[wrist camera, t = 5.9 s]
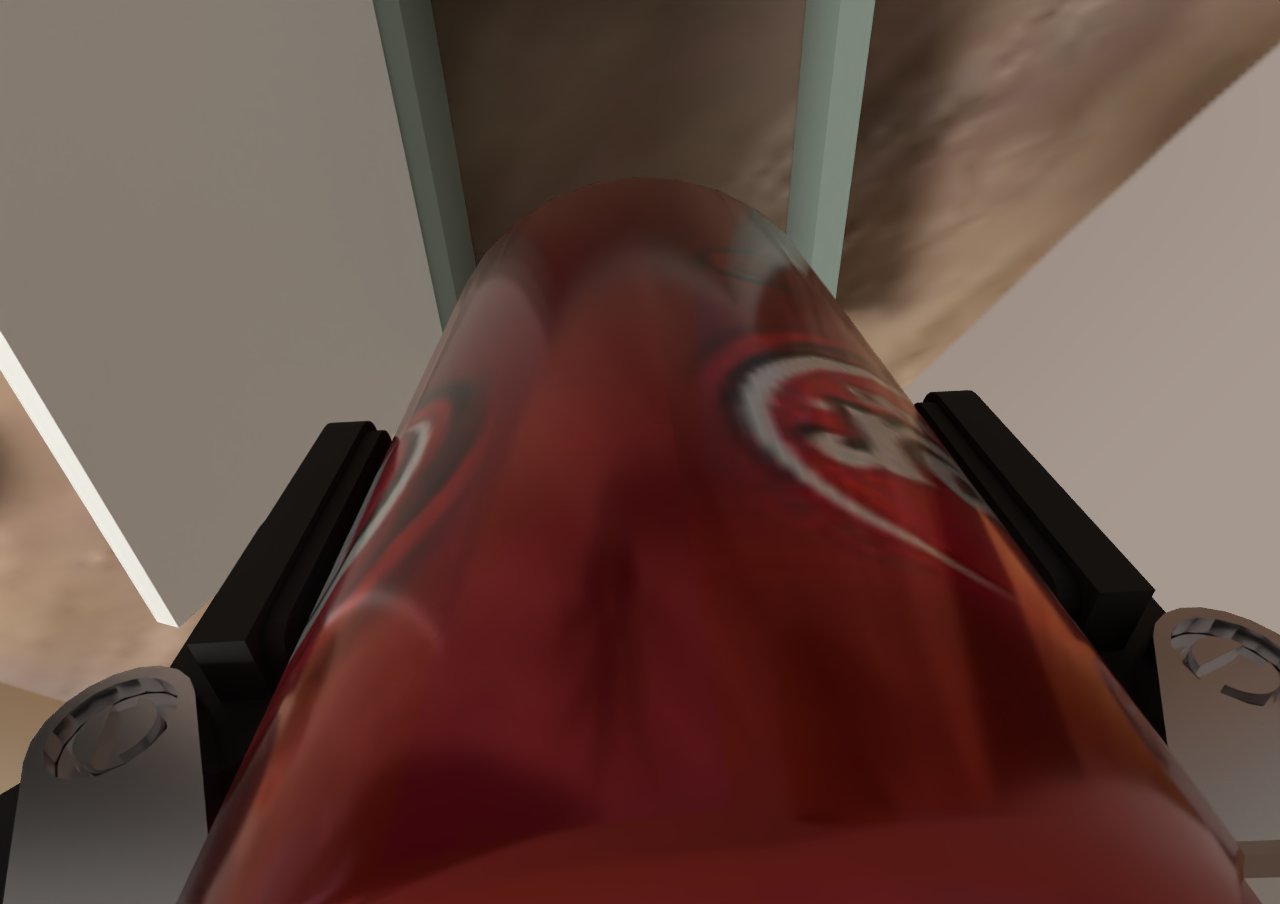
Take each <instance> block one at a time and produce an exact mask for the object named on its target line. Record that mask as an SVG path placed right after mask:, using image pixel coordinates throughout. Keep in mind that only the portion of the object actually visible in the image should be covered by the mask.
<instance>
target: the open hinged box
mask: <svg viewBox="0 0 1280 904" xmlns="http://www.w3.org/2000/svg"><path fill="white" fill-rule="evenodd" d="M874 6H875V0H806V7H805V19H804V30H803V42H802V54H801V65H800V77H799V89H798V100H797V112H796V124H795V135H794V147H793V158H792V170H791V182H790V193H789V205H788V217H787V228H786V235H787V236H788V237H789V238H790V240H791V241H792V242H793V244H794V245H795V246H796V247H797V249H798V250H799V251H800V253H801V254H802V255H803V256H804V258H805V259H806V260H807V262H808V263H809V264H810V265H811V267H812V268H813V269H814V271H815V272H816V274H817V275H818V276H819V278H820V279H821V280H822V282H823V283H824V284H825V286H826V287H827V288H828V290H829V291H830V292H831V294H832V295H833V296H834V298H835V299H836V292H837V284H838V277H839V269H840V262H841V254H842V247H843V239H844V232H845V224H846V217H847V209H848V202H849V194H850V187H851V179H852V172H853V164H854V157H855V149H856V142H857V134H858V127H859V119H860V112H861V104H862V97H863V89H864V82H865V74H866V67H867V59H868V52H869V44H870V37H871V29H872V22H873V14H874ZM475 269H476V262H475V257H474V251H473V245H472V239H471V233H470V227H469V221H468V216H467V210H466V204H465V198H464V192H463V186H462V181H461V175H460V169H459V163H458V157H457V151H456V145H455V140H454V134H453V128H452V122H451V116H450V110H449V105H448V99H447V93H446V87H445V81H444V75H443V69H442V64H441V58H440V52H439V46H438V40H437V34H436V29H435V23H434V17H433V11H432V5H431V0H0V370H1V372H2V373H3V375H4V376H5V378H6V380H7V381H8V383H9V384H10V386H11V388H12V389H13V391H14V392H15V394H16V396H17V397H18V399H19V400H20V402H21V404H22V405H23V407H24V409H25V410H26V412H27V413H28V415H29V417H30V418H31V420H32V421H33V423H34V425H35V426H36V428H37V429H38V431H39V433H40V434H41V436H42V437H43V439H44V441H45V442H46V444H47V445H48V447H49V449H50V450H51V452H52V453H53V455H54V457H55V458H56V460H57V461H58V463H59V465H60V466H61V468H62V470H63V471H64V473H65V474H66V476H67V478H68V479H69V481H70V482H71V484H72V486H73V487H74V489H75V490H76V492H77V494H78V495H79V497H80V498H81V500H82V502H83V503H84V505H85V506H86V508H87V510H88V511H89V513H90V514H91V516H92V518H93V519H94V521H95V522H96V524H97V526H98V527H99V529H100V531H101V532H102V534H103V535H104V537H105V539H106V540H107V542H108V543H109V545H110V547H111V548H112V550H113V551H114V553H115V555H116V556H117V558H118V559H119V561H120V563H121V564H122V566H123V567H124V569H125V571H126V572H127V574H128V575H129V577H130V579H131V580H132V582H133V583H134V585H135V587H136V588H137V590H138V592H139V593H140V595H141V596H142V598H143V600H144V601H145V603H146V604H147V606H148V608H149V609H150V611H151V612H152V614H153V616H154V617H155V619H156V620H157V622H160V623H164V624H167V625H171V626H174V627H178V628H179V627H180V626H181V625H182V624H184V623H185V622H186V621H187V620H188V619H189V618H190V617H191V616H192V615H194V614H195V613H196V612H197V611H198V610H199V609H200V608H201V607H202V606H203V605H205V604H206V603H207V602H208V601H209V600H210V599H211V598H212V597H213V596H215V595H216V594H217V593H218V591H219V589H220V588H221V586H222V585H223V583H224V582H225V580H226V578H227V577H228V575H229V574H230V572H231V571H232V569H233V567H234V566H235V564H236V563H237V561H238V560H239V558H240V557H241V555H242V553H243V552H244V550H245V549H246V547H247V546H248V544H249V542H250V541H251V539H252V538H253V536H254V535H255V533H256V531H257V530H258V528H259V527H260V526H261V525H262V523H263V522H264V521H265V520H266V518H267V517H268V515H269V514H270V512H271V510H272V509H273V507H274V506H275V504H276V503H277V501H278V499H279V498H280V496H281V495H282V493H283V492H284V490H285V488H286V487H287V485H288V484H289V482H290V481H291V479H292V477H293V476H294V474H295V473H296V471H297V469H298V468H299V466H300V465H301V463H302V462H303V460H304V458H305V457H306V455H307V454H308V452H309V451H310V449H311V447H312V446H313V444H314V443H315V441H316V440H317V438H318V436H319V435H320V433H321V432H322V430H323V429H324V427H325V426H326V425H327V424H328V423H335V422H355V421H371V422H372V423H373V424H374V425H375V427H376V429H377V430H386V431H387V432H388V433H389V435H390V436H391V435H393V434H394V433H395V432H396V431H397V430H398V428H399V425H400V423H401V421H402V419H403V417H404V415H405V413H406V411H407V408H408V406H409V404H410V402H411V400H412V398H413V396H414V393H415V391H416V389H417V387H418V385H419V383H420V381H421V378H422V376H423V374H424V372H425V370H426V368H427V366H428V363H429V361H430V359H431V357H432V355H433V353H434V351H435V349H436V346H437V344H438V342H439V340H440V338H441V336H442V334H443V331H444V329H445V327H446V325H447V323H448V321H449V319H450V316H451V314H452V312H453V310H454V308H455V306H456V304H457V301H458V299H459V297H460V295H461V293H462V291H463V289H464V287H465V284H466V283H467V281H468V280H469V278H470V277H471V275H472V273H473V272H474V270H475Z"/></svg>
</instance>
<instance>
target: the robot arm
mask: <svg viewBox="0 0 1280 904" xmlns="http://www.w3.org/2000/svg"><path fill="white" fill-rule="evenodd" d="M914 406H915V407H916V408H917V410H918V411H919V412H920V414H921V415H922V416H923V418H924V419H925V420H926V422H927V423H928V424H929V426H930V427H931V429H932V430H933V431H934V433H935V434H936V435H937V437H938V438H939V439H940V441H941V442H942V443H943V445H944V446H945V447H946V449H947V450H948V451H949V453H950V454H951V455H952V457H953V458H954V459H955V461H956V462H957V464H958V465H959V466H960V468H961V469H962V470H963V472H964V473H965V474H966V476H967V477H968V478H969V480H970V481H971V482H972V484H973V485H974V486H975V488H976V489H977V490H978V492H979V493H980V495H981V496H982V497H983V499H984V500H985V501H986V503H987V504H988V505H989V507H990V508H991V509H992V511H993V512H994V513H995V515H996V516H997V517H998V519H999V520H1000V521H1001V523H1002V524H1003V526H1004V527H1005V528H1006V530H1007V531H1008V532H1009V534H1010V535H1011V536H1012V538H1013V539H1014V540H1015V542H1016V543H1017V544H1018V546H1019V547H1020V548H1021V550H1022V551H1023V552H1024V554H1025V555H1026V557H1027V558H1028V559H1029V561H1030V562H1031V563H1032V565H1033V566H1034V567H1035V569H1036V570H1037V571H1038V573H1039V574H1040V575H1041V577H1042V578H1043V579H1044V581H1045V582H1046V583H1047V585H1048V586H1049V588H1050V589H1051V590H1052V592H1053V593H1054V594H1055V596H1056V597H1057V598H1058V600H1059V601H1060V602H1061V604H1062V605H1063V606H1064V608H1065V609H1066V610H1067V612H1068V613H1069V614H1070V616H1071V617H1072V619H1073V620H1074V621H1075V623H1076V624H1077V625H1078V627H1079V628H1080V629H1081V631H1082V632H1083V633H1084V635H1085V636H1086V637H1087V639H1088V640H1089V641H1090V643H1091V644H1092V645H1093V647H1094V648H1095V649H1096V651H1097V652H1098V654H1099V655H1100V656H1101V658H1102V659H1103V660H1104V662H1105V663H1106V664H1107V666H1108V667H1109V668H1110V670H1111V671H1112V672H1113V674H1114V675H1115V676H1116V678H1117V679H1118V680H1119V682H1120V683H1121V685H1122V686H1123V687H1124V689H1125V690H1126V691H1127V693H1128V694H1129V695H1130V697H1131V698H1132V699H1133V701H1134V702H1135V703H1136V705H1137V706H1138V707H1139V709H1140V710H1141V711H1142V713H1143V714H1144V716H1145V717H1146V718H1147V720H1148V721H1149V722H1150V724H1151V725H1152V726H1153V728H1154V729H1155V730H1156V732H1157V733H1158V734H1159V736H1160V737H1161V738H1162V740H1163V741H1164V742H1165V744H1166V745H1167V747H1168V748H1169V749H1170V751H1171V752H1172V753H1173V755H1174V756H1175V757H1176V759H1177V760H1178V761H1179V763H1180V764H1181V765H1182V767H1183V768H1184V769H1185V771H1186V772H1187V773H1188V775H1189V776H1190V778H1191V779H1192V780H1193V782H1194V783H1195V784H1196V786H1197V787H1198V788H1199V790H1200V791H1201V792H1202V794H1203V795H1204V796H1205V798H1206V799H1207V800H1208V802H1209V803H1210V804H1211V806H1212V807H1213V809H1214V810H1215V811H1216V813H1217V814H1218V815H1219V817H1220V818H1221V819H1222V821H1223V822H1224V823H1225V825H1226V826H1227V827H1228V829H1229V830H1230V831H1231V833H1232V834H1233V835H1234V837H1235V838H1236V839H1237V844H1238V846H1239V847H1240V849H1241V850H1242V852H1243V854H1244V855H1245V858H1244V868H1243V872H1244V879H1245V881H1246V882H1247V883H1248V885H1249V886H1250V888H1251V889H1252V890H1253V892H1254V893H1255V895H1256V896H1257V897H1258V899H1259V900H1260V901H1261V903H1262V904H1280V635H1279V634H1277V633H1275V632H1273V631H1271V630H1269V629H1267V628H1265V627H1263V626H1261V625H1259V624H1257V623H1255V622H1253V621H1251V620H1248V619H1245V618H1243V617H1240V616H1237V615H1234V614H1231V613H1228V612H1224V611H1218V610H1213V609H1207V608H1201V607H1199V608H1179V609H1176V610H1173V611H1170V612H1167V613H1166V612H1165V611H1164V610H1163V609H1162V608H1161V607H1160V606H1159V605H1158V603H1157V602H1156V601H1155V600H1154V599H1153V598H1152V595H1153V593H1154V592H1155V589H1154V588H1153V587H1152V586H1151V585H1150V583H1148V581H1147V580H1146V579H1145V578H1144V577H1143V576H1142V575H1141V574H1140V573H1139V572H1138V570H1137V569H1136V568H1135V567H1134V566H1133V565H1132V564H1131V563H1130V562H1129V561H1128V559H1127V558H1126V557H1125V556H1124V555H1123V554H1122V553H1121V552H1120V551H1119V550H1118V548H1117V547H1116V546H1115V545H1114V544H1113V543H1112V542H1111V541H1110V540H1109V539H1108V538H1107V537H1106V535H1105V534H1104V533H1103V532H1102V531H1101V530H1100V529H1099V528H1098V527H1097V525H1096V524H1095V523H1094V522H1093V521H1092V520H1091V519H1090V518H1089V517H1088V516H1087V515H1086V514H1085V513H1084V511H1083V510H1082V509H1081V508H1080V507H1079V506H1078V505H1077V504H1076V503H1075V501H1074V500H1073V499H1072V498H1071V497H1070V496H1069V495H1068V494H1067V493H1066V492H1065V490H1064V489H1063V488H1062V487H1061V486H1060V485H1059V484H1058V483H1057V482H1056V481H1055V480H1054V478H1053V477H1052V476H1051V475H1050V474H1049V473H1048V472H1047V471H1046V470H1045V469H1044V467H1043V466H1042V465H1041V464H1040V463H1039V462H1038V461H1037V460H1036V459H1035V458H1034V457H1033V455H1032V454H1031V453H1030V452H1029V451H1028V450H1027V449H1026V448H1025V447H1024V446H1023V445H1022V444H1021V442H1020V441H1019V440H1018V439H1017V438H1016V437H1015V436H1014V435H1013V434H1012V432H1011V431H1010V430H1009V429H1008V428H1007V427H1006V426H1005V425H1004V424H1003V423H1002V422H1001V420H1000V419H999V418H998V417H997V416H996V415H995V414H994V413H993V412H992V411H991V409H989V407H988V406H987V405H986V404H985V403H984V402H983V401H982V400H981V399H980V397H979V396H978V395H977V394H976V393H974V392H973V391H968V390H965V391H948V392H947V391H945V392H930V393H929V394H927V395H926V397H925V399H924V401H923V403H916V404H914ZM391 443H392V441H391V438H390V435H389V433H388V432H387V431H386V430H377V429H376V427H375V425H374V424H373V423H372V422H371V421H355V422H335V423H328V424H327V425H326V426H325V427H324V429H323V430H322V432H321V433H320V435H319V436H318V438H317V440H316V441H315V443H314V444H313V446H312V447H311V449H310V451H309V452H308V454H307V455H306V457H305V458H304V460H303V462H302V463H301V465H300V466H299V468H298V469H297V471H296V473H295V474H294V476H293V477H292V479H291V481H290V482H289V484H288V485H287V487H286V488H285V490H284V492H283V493H282V495H281V496H280V498H279V499H278V501H277V503H276V504H275V506H274V507H273V509H272V510H271V512H270V514H269V515H268V517H267V518H266V520H265V521H264V522H263V523H262V525H261V526H260V527H259V528H258V530H257V531H256V533H255V535H254V536H253V538H252V539H251V541H250V542H249V544H248V546H247V547H246V549H245V550H244V552H243V553H242V555H241V557H240V558H239V560H238V561H237V563H236V564H235V566H234V567H233V569H232V571H231V572H230V574H229V575H228V577H227V578H226V580H225V582H224V583H223V585H222V586H221V588H220V589H219V591H218V593H217V594H216V596H215V597H214V599H213V600H212V602H211V604H210V605H209V607H208V608H207V610H206V611H205V613H204V614H203V616H202V618H201V619H200V621H199V622H198V624H197V625H196V627H195V629H194V630H193V632H192V633H191V635H190V636H189V638H188V640H187V641H186V643H185V644H184V646H183V647H182V649H181V651H180V652H179V654H178V655H177V657H176V658H175V660H174V661H173V663H172V665H171V666H170V668H169V667H164V666H150V667H139V668H135V669H132V670H128V671H125V672H121V673H118V674H115V675H112V676H110V677H108V678H106V679H104V680H102V681H100V682H98V683H96V684H94V685H91V686H89V687H88V688H86V689H85V690H83V691H82V692H80V693H79V694H77V695H76V696H74V697H73V698H72V699H70V700H69V701H67V702H66V703H64V704H63V705H62V706H61V707H60V708H59V709H58V710H57V711H56V712H55V713H54V714H53V715H52V716H51V717H49V718H48V719H47V720H46V721H45V722H44V724H43V725H42V727H41V728H40V729H39V731H38V732H37V733H36V735H35V736H34V738H33V739H32V741H31V742H30V744H29V747H28V750H27V753H26V756H25V758H24V761H23V767H22V773H21V780H20V783H19V784H18V785H16V786H14V787H13V788H11V789H9V790H8V791H6V792H4V793H2V794H1V795H0V904H176V902H177V900H178V898H179V896H180V894H181V891H182V889H183V887H184V885H185V883H186V881H187V879H188V876H189V874H190V872H191V870H192V868H193V866H194V864H195V862H196V859H197V857H198V855H199V853H200V851H201V849H202V847H203V844H204V842H205V840H206V838H207V836H208V834H209V832H210V829H211V827H212V825H213V823H214V821H215V819H216V817H217V814H218V812H219V810H220V808H221V806H222V804H223V802H224V800H225V797H226V795H227V793H228V791H229V789H230V787H231V785H232V782H233V780H234V778H235V776H236V774H237V772H238V770H239V767H240V765H241V763H242V761H243V759H244V757H245V755H246V753H247V750H248V748H249V746H250V744H251V742H252V740H253V738H254V735H255V733H256V731H257V729H258V727H259V725H260V723H261V720H262V718H263V716H264V714H265V712H266V710H267V708H268V705H269V703H270V701H271V699H272V697H273V695H274V693H275V691H276V688H277V686H278V684H279V682H280V680H281V678H282V676H283V673H284V671H285V669H286V667H287V665H288V663H289V661H290V658H291V656H292V654H293V652H294V650H295V648H296V646H297V643H298V641H299V639H300V637H301V635H302V633H303V631H304V629H305V626H306V624H307V622H308V620H309V618H310V616H311V614H312V611H313V609H314V607H315V605H316V603H317V601H318V599H319V596H320V594H321V592H322V590H323V588H324V586H325V584H326V582H327V579H328V577H329V575H330V573H331V571H332V569H333V567H334V564H335V562H336V560H337V558H338V556H339V554H340V552H341V549H342V547H343V545H344V543H345V541H346V539H347V537H348V534H349V532H350V530H351V528H352V526H353V524H354V522H355V520H356V517H357V515H358V513H359V511H360V509H361V507H362V505H363V502H364V500H365V498H366V496H367V494H368V492H369V490H370V487H371V485H372V483H373V481H374V479H375V477H376V475H377V472H378V470H379V468H380V466H381V464H382V462H383V460H384V458H385V455H386V453H387V451H388V449H389V447H390V445H391Z"/></svg>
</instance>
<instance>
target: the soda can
mask: <svg viewBox="0 0 1280 904" xmlns="http://www.w3.org/2000/svg"><path fill="white" fill-rule="evenodd" d="M1244 858H1245V855H1244V854H1243V852H1242V850H1241V849H1240V847H1239V846H1238V844H1237V839H1236V838H1235V837H1234V835H1233V834H1232V833H1231V831H1230V830H1229V829H1228V827H1227V826H1226V825H1225V823H1224V822H1223V821H1222V819H1221V818H1220V817H1219V815H1218V814H1217V813H1216V811H1215V810H1214V809H1213V807H1212V806H1211V804H1210V803H1209V802H1208V800H1207V799H1206V798H1205V796H1204V795H1203V794H1202V792H1201V791H1200V790H1199V788H1198V787H1197V786H1196V784H1195V783H1194V782H1193V780H1192V779H1191V778H1190V776H1189V775H1188V773H1187V772H1186V771H1185V769H1184V768H1183V767H1182V765H1181V764H1180V763H1179V761H1178V760H1177V759H1176V757H1175V756H1174V755H1173V753H1172V752H1171V751H1170V749H1169V748H1168V747H1167V745H1166V744H1165V742H1164V741H1163V740H1162V738H1161V737H1160V736H1159V734H1158V733H1157V732H1156V730H1155V729H1154V728H1153V726H1152V725H1151V724H1150V722H1149V721H1148V720H1147V718H1146V717H1145V716H1144V714H1143V713H1142V711H1141V710H1140V709H1139V707H1138V706H1137V705H1136V703H1135V702H1134V701H1133V699H1132V698H1131V697H1130V695H1129V694H1128V693H1127V691H1126V690H1125V689H1124V687H1123V686H1122V685H1121V683H1120V682H1119V680H1118V679H1117V678H1116V676H1115V675H1114V674H1113V672H1112V671H1111V670H1110V668H1109V667H1108V666H1107V664H1106V663H1105V662H1104V660H1103V659H1102V658H1101V656H1100V655H1099V654H1098V652H1097V651H1096V649H1095V648H1094V647H1093V645H1092V644H1091V643H1090V641H1089V640H1088V639H1087V637H1086V636H1085V635H1084V633H1083V632H1082V631H1081V629H1080V628H1079V627H1078V625H1077V624H1076V623H1075V621H1074V620H1073V619H1072V617H1071V616H1070V614H1069V613H1068V612H1067V610H1066V609H1065V608H1064V606H1063V605H1062V604H1061V602H1060V601H1059V600H1058V598H1057V597H1056V596H1055V594H1054V593H1053V592H1052V590H1051V589H1050V588H1049V586H1048V585H1047V583H1046V582H1045V581H1044V579H1043V578H1042V577H1041V575H1040V574H1039V573H1038V571H1037V570H1036V569H1035V567H1034V566H1033V565H1032V563H1031V562H1030V561H1029V559H1028V558H1027V557H1026V555H1025V554H1024V552H1023V551H1022V550H1021V548H1020V547H1019V546H1018V544H1017V543H1016V542H1015V540H1014V539H1013V538H1012V536H1011V535H1010V534H1009V532H1008V531H1007V530H1006V528H1005V527H1004V526H1003V524H1002V523H1001V521H1000V520H999V519H998V517H997V516H996V515H995V513H994V512H993V511H992V509H991V508H990V507H989V505H988V504H987V503H986V501H985V500H984V499H983V497H982V496H981V495H980V493H979V492H978V490H977V489H976V488H975V486H974V485H973V484H972V482H971V481H970V480H969V478H968V477H967V476H966V474H965V473H964V472H963V470H962V469H961V468H960V466H959V465H958V464H957V462H956V461H955V459H954V458H953V457H952V455H951V454H950V453H949V451H948V450H947V449H946V447H945V446H944V445H943V443H942V442H941V441H940V439H939V438H938V437H937V435H936V434H935V433H934V431H933V430H932V429H931V427H930V426H929V424H928V423H927V422H926V420H925V419H924V418H923V416H922V415H921V414H920V412H919V411H918V410H917V408H916V407H915V406H914V404H913V403H912V402H911V400H910V399H909V398H908V396H907V395H906V394H905V392H904V391H903V389H902V388H901V387H900V385H899V384H898V383H897V381H896V380H895V379H894V377H893V376H892V375H891V373H890V372H889V371H888V369H887V368H886V367H885V365H884V364H883V362H882V361H881V360H880V358H879V357H878V356H877V354H876V353H875V352H874V350H873V349H872V348H871V346H870V345H869V344H868V342H867V341H866V340H865V338H864V337H863V336H862V334H861V333H860V331H859V330H858V329H857V327H856V326H855V325H854V323H853V322H852V321H851V319H850V318H849V317H848V315H847V314H846V313H845V311H844V310H843V309H842V307H841V306H840V305H839V303H838V302H837V300H836V299H835V298H834V296H833V295H832V294H831V292H830V291H829V290H828V288H827V287H826V286H825V284H824V283H823V282H822V280H821V279H820V278H819V276H818V275H817V274H816V272H815V271H814V269H813V268H812V267H811V265H810V264H809V263H808V262H807V260H806V259H805V258H804V256H803V255H802V254H801V253H800V251H799V250H798V249H797V247H796V246H795V245H794V244H793V242H792V241H791V240H790V238H789V237H788V236H787V235H786V234H785V233H784V232H783V231H781V230H780V229H779V228H778V227H777V226H775V225H774V224H773V223H772V222H770V221H769V220H768V219H767V218H766V217H764V216H763V215H762V214H761V213H760V212H758V211H757V210H756V209H754V208H752V207H750V206H748V205H746V204H744V203H742V202H740V201H738V200H736V199H734V198H732V197H730V196H728V195H726V194H724V193H722V192H720V191H718V190H715V189H711V188H707V187H703V186H700V185H696V184H692V183H688V182H684V181H680V180H677V179H656V178H635V177H633V178H627V179H620V180H614V181H608V182H602V183H596V184H590V185H588V186H585V187H582V188H580V189H577V190H574V191H572V192H569V193H567V194H564V195H561V196H559V197H556V198H554V199H551V200H549V201H548V202H546V203H545V204H543V205H542V206H540V207H539V208H537V209H536V210H534V211H532V212H531V213H529V214H528V215H526V216H525V217H523V218H522V219H520V220H519V221H517V222H516V223H514V224H513V225H512V226H511V227H510V228H509V229H508V230H507V231H506V232H505V233H504V234H503V235H502V236H501V237H500V238H499V239H498V240H497V241H496V242H495V243H494V244H493V245H492V246H491V247H490V248H489V249H488V250H487V251H486V253H485V254H484V256H483V258H482V259H481V261H480V262H479V264H478V265H477V267H476V269H475V270H474V272H473V273H472V275H471V277H470V278H469V280H468V281H467V283H466V284H465V287H464V289H463V291H462V293H461V295H460V297H459V299H458V301H457V304H456V306H455V308H454V310H453V312H452V314H451V316H450V319H449V321H448V323H447V325H446V327H445V329H444V331H443V334H442V336H441V338H440V340H439V342H438V344H437V346H436V349H435V351H434V353H433V355H432V357H431V359H430V361H429V363H428V366H427V368H426V370H425V372H424V374H423V376H422V378H421V381H420V383H419V385H418V387H417V389H416V391H415V393H414V396H413V398H412V400H411V402H410V404H409V406H408V408H407V411H406V413H405V415H404V417H403V419H402V421H401V423H400V425H399V428H398V430H397V432H396V434H395V436H394V438H393V440H392V443H391V445H390V447H389V449H388V451H387V453H386V455H385V458H384V460H383V462H382V464H381V466H380V468H379V470H378V472H377V475H376V477H375V479H374V481H373V483H372V485H371V487H370V490H369V492H368V494H367V496H366V498H365V500H364V502H363V505H362V507H361V509H360V511H359V513H358V515H357V517H356V520H355V522H354V524H353V526H352V528H351V530H350V532H349V534H348V537H347V539H346V541H345V543H344V545H343V547H342V549H341V552H340V554H339V556H338V558H337V560H336V562H335V564H334V567H333V569H332V571H331V573H330V575H329V577H328V579H327V582H326V584H325V586H324V588H323V590H322V592H321V594H320V596H319V599H318V601H317V603H316V605H315V607H314V609H313V611H312V614H311V616H310V618H309V620H308V622H307V624H306V626H305V629H304V631H303V633H302V635H301V637H300V639H299V641H298V643H297V646H296V648H295V650H294V652H293V654H292V656H291V658H290V661H289V663H288V665H287V667H286V669H285V671H284V673H283V676H282V678H281V680H280V682H279V684H278V686H277V688H276V691H275V693H274V695H273V697H272V699H271V701H270V703H269V705H268V708H267V710H266V712H265V714H264V716H263V718H262V720H261V723H260V725H259V727H258V729H257V731H256V733H255V735H254V738H253V740H252V742H251V744H250V746H249V748H248V750H247V753H246V755H245V757H244V759H243V761H242V763H241V765H240V767H239V770H238V772H237V774H236V776H235V778H234V780H233V782H232V785H231V787H230V789H229V791H228V793H227V795H226V797H225V800H224V802H223V804H222V806H221V808H220V810H219V812H218V814H217V817H216V819H215V821H214V823H213V825H212V827H211V829H210V832H209V834H208V836H207V838H206V840H205V842H204V844H203V847H202V849H201V851H200V853H199V855H198V857H197V859H196V862H195V864H194V866H193V868H192V870H191V872H190V874H189V876H188V879H187V881H186V883H185V885H184V887H183V889H182V891H181V894H180V896H179V898H178V900H177V902H176V904H1262V903H1261V901H1260V900H1259V899H1258V897H1257V896H1256V895H1255V893H1254V892H1253V890H1252V889H1251V888H1250V886H1249V885H1248V883H1247V882H1246V881H1245V879H1244V872H1243V868H1244Z"/></svg>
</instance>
